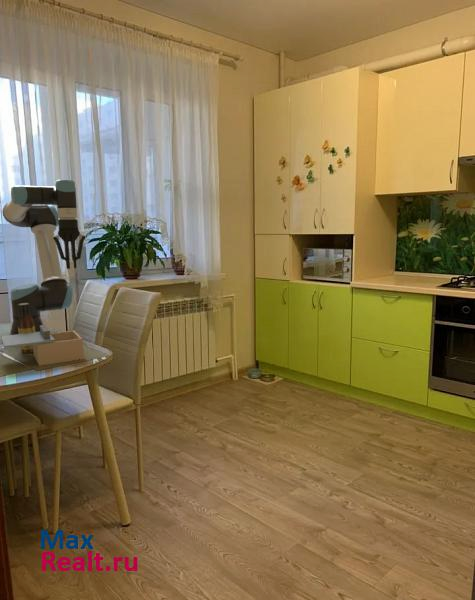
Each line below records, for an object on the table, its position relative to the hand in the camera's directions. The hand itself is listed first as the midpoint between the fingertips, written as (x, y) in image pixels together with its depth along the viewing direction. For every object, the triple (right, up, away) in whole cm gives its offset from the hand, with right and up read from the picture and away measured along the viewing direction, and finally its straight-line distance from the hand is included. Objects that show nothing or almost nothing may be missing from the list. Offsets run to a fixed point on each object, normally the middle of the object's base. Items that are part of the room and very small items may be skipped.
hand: (72, 276), depth 196 cm
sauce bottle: (-16, -31, -4) cm, 35 cm away
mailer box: (-1, -32, -13) cm, 34 cm away
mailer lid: (-10, -25, -19) cm, 33 cm away
